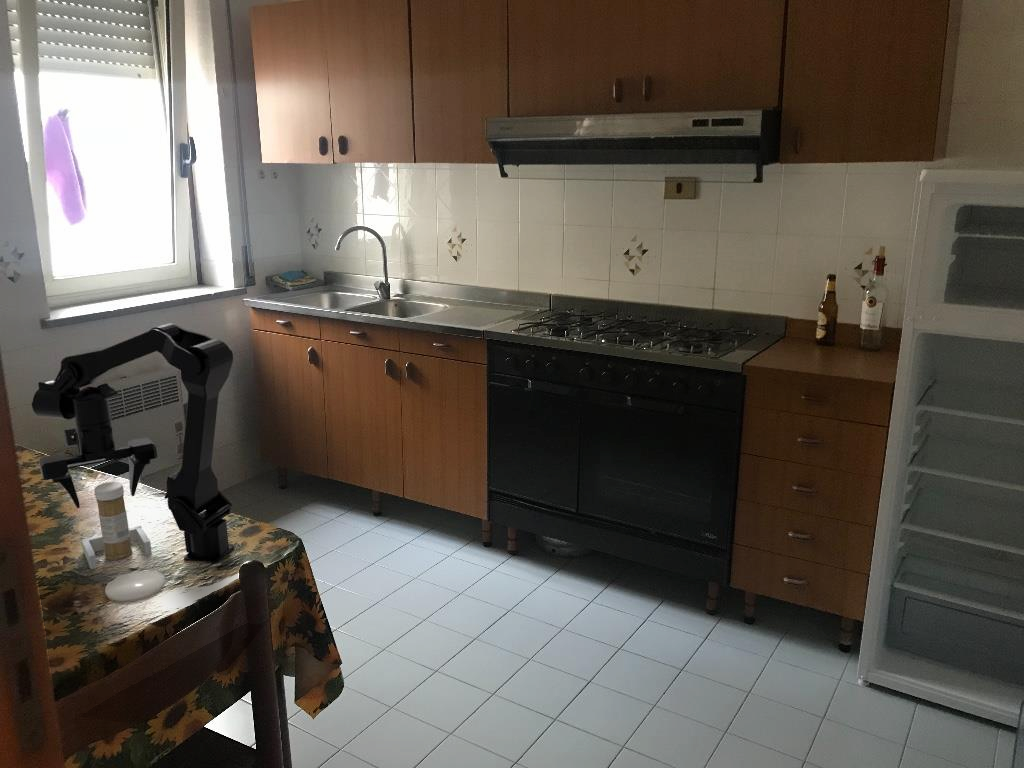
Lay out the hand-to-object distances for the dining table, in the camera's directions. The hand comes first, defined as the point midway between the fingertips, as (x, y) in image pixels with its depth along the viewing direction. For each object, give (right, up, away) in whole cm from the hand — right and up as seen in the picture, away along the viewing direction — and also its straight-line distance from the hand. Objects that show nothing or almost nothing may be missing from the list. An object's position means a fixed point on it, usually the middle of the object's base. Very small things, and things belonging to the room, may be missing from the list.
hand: (105, 501), depth 152 cm
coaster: (+12, -12, -15) cm, 23 cm away
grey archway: (+4, -9, -3) cm, 11 cm away
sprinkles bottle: (+4, -9, -3) cm, 11 cm away
